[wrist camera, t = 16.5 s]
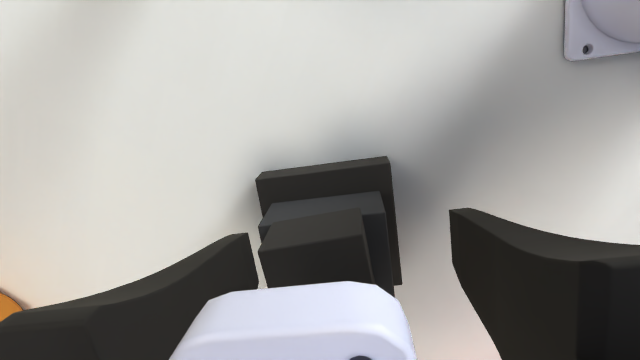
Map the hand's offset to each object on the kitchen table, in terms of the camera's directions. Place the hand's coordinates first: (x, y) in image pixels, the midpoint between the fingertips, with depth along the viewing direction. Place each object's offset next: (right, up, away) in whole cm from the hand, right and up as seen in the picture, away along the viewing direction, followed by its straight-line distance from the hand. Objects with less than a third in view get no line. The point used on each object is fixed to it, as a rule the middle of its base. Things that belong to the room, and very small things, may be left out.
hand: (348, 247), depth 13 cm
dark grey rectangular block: (-1, -2, +6) cm, 6 cm away
